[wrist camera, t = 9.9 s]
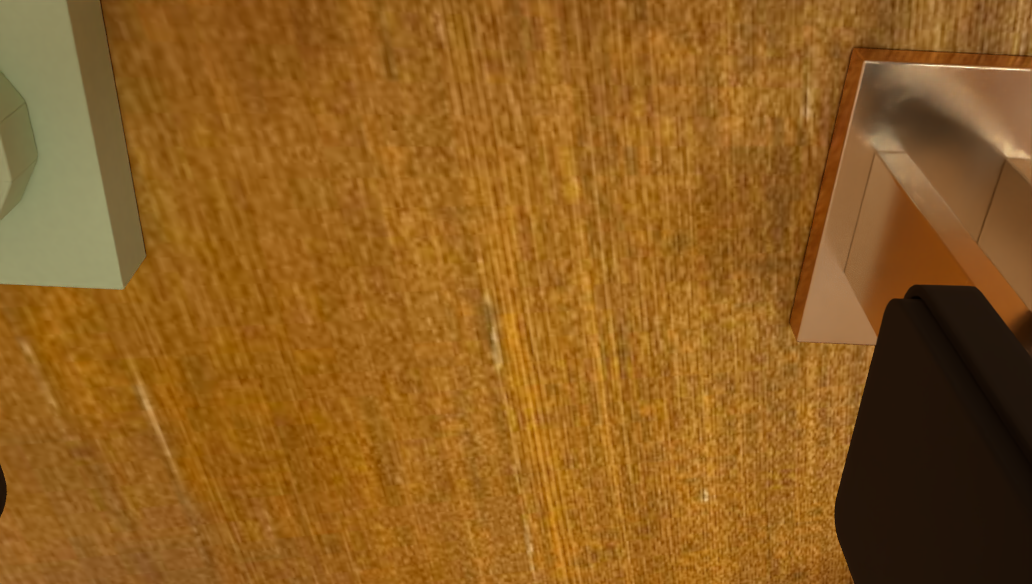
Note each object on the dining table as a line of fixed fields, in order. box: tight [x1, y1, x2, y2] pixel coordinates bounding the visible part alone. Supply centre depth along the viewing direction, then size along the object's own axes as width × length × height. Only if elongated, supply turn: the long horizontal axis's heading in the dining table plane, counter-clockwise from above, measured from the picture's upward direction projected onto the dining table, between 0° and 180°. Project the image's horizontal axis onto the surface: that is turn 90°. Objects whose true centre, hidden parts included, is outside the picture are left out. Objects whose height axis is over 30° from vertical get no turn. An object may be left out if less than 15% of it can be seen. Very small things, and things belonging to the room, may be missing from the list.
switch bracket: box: [790, 48, 1032, 358], centre depth 27 cm, size 10×7×13 cm
